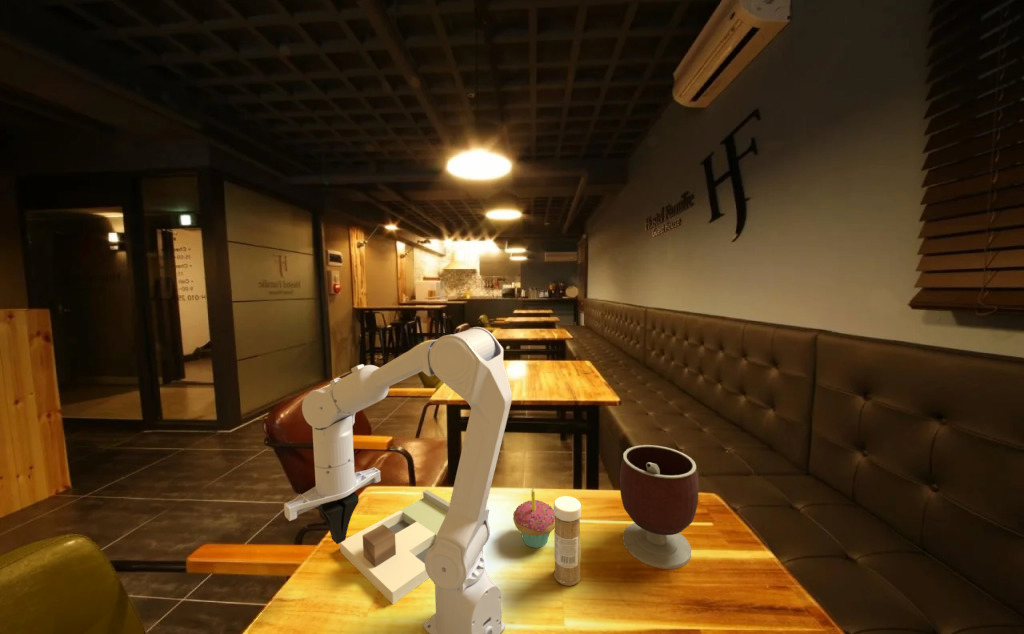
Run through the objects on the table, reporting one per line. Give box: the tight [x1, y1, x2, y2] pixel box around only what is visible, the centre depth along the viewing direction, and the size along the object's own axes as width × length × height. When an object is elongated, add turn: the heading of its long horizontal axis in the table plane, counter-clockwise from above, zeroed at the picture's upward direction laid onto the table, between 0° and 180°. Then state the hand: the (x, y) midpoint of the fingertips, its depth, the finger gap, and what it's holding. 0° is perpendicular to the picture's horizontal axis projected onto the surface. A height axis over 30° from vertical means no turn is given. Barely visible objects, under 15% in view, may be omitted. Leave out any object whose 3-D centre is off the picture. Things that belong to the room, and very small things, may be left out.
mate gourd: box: [619, 444, 700, 570], centre depth 71 cm, size 16×14×20 cm
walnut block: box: [363, 525, 396, 567], centre depth 67 cm, size 4×4×4 cm
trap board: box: [339, 489, 450, 605], centre depth 73 cm, size 18×20×4 cm
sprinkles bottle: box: [553, 495, 582, 587], centre depth 64 cm, size 5×5×14 cm
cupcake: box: [512, 486, 555, 549], centre depth 74 cm, size 9×8×12 cm
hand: (338, 539), depth 61 cm, fingers closed
